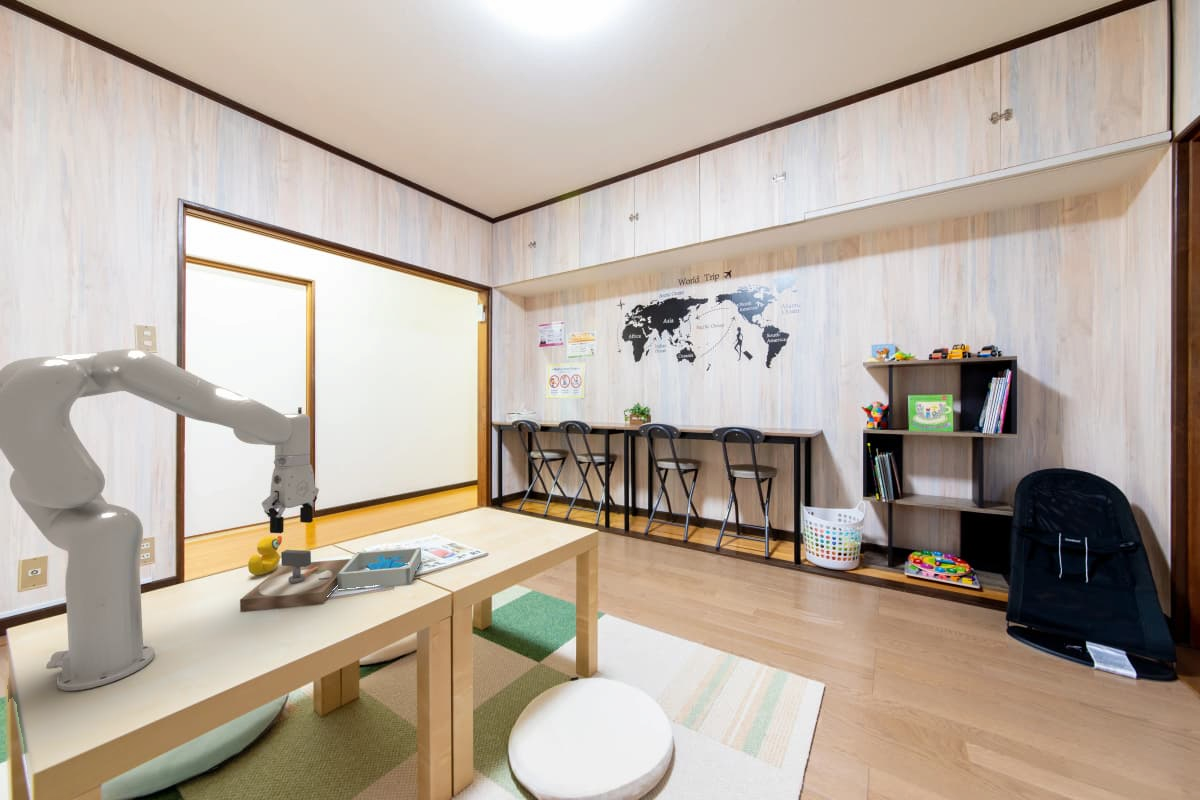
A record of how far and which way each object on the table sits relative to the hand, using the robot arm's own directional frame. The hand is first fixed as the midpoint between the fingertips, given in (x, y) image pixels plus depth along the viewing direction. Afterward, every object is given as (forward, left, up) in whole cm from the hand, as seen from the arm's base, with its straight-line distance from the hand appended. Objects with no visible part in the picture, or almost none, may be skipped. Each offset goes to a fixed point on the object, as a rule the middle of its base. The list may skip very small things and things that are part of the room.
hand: (292, 527), depth 117 cm
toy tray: (+19, +8, -18) cm, 27 cm away
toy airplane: (+19, +8, -18) cm, 28 cm away
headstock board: (0, +4, -18) cm, 18 cm away
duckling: (-15, +18, -18) cm, 29 cm away
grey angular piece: (+1, +3, -14) cm, 15 cm away
